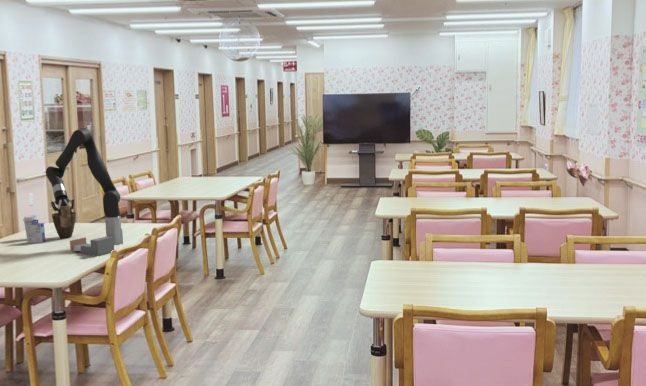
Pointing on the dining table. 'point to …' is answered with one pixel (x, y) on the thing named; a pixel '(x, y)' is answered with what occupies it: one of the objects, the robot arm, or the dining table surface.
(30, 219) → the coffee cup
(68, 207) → the walnut block
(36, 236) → the ink cartridge box
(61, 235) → the plant pot
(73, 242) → the dock tray
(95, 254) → the block
